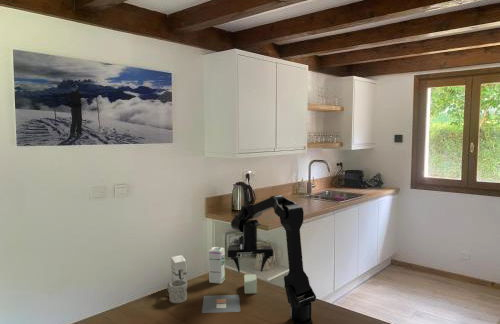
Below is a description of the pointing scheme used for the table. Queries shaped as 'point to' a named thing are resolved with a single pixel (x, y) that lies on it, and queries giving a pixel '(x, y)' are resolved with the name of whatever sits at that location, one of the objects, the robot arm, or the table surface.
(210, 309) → the tile
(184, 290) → the mug
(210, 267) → the syrup box
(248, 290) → the sage block
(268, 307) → the table surface
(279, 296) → the table surface
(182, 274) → the ink box
